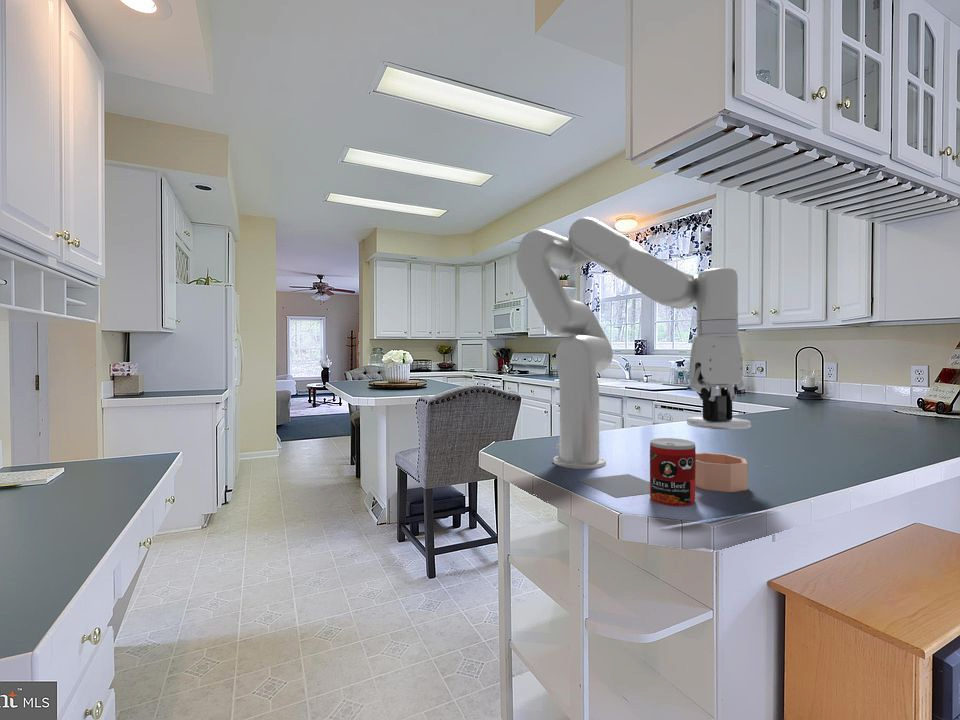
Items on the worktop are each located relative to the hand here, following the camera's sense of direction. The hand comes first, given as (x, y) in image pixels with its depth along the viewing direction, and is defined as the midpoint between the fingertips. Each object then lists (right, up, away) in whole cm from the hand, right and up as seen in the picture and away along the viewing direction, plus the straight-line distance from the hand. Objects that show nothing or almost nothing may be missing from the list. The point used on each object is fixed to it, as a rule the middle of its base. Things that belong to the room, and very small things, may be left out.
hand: (717, 418), depth 95 cm
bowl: (0, -14, 0) cm, 14 cm away
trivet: (-20, -14, -1) cm, 24 cm away
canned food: (-13, -14, -10) cm, 22 cm away
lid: (0, -1, 0) cm, 1 cm away
